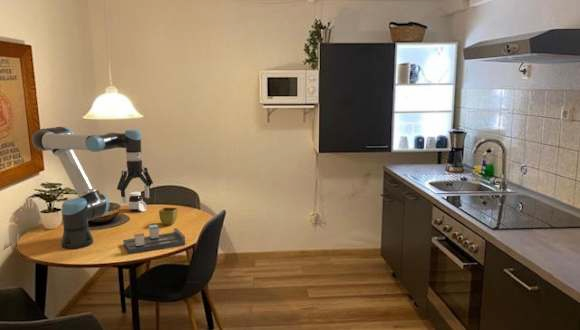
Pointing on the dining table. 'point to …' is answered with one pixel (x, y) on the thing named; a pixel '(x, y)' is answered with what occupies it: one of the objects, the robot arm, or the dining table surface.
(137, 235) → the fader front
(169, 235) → the grey tray
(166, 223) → the flower pot
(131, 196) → the spread jar
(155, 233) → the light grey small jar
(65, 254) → the dining table surface
